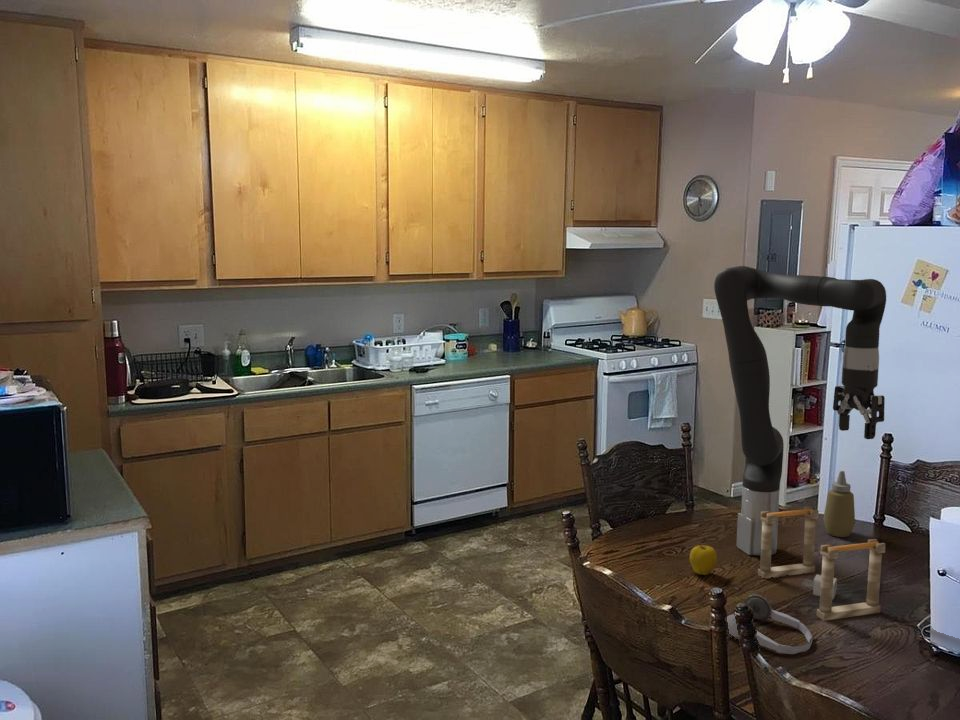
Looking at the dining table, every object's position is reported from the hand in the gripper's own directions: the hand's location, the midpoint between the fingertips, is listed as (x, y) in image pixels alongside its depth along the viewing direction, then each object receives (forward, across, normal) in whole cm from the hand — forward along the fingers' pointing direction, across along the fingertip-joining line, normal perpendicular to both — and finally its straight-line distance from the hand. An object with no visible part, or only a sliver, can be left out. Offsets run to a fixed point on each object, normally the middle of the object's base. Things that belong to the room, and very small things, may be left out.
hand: (856, 434), depth 184 cm
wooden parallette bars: (+36, +4, -12) cm, 38 cm away
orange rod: (+21, +15, -11) cm, 28 cm away
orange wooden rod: (+21, -7, -12) cm, 25 cm away
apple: (+36, -12, -32) cm, 50 cm away
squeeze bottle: (+36, -27, +18) cm, 49 cm away
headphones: (+37, +17, -33) cm, 52 cm away
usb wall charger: (+36, +4, -11) cm, 38 cm away
